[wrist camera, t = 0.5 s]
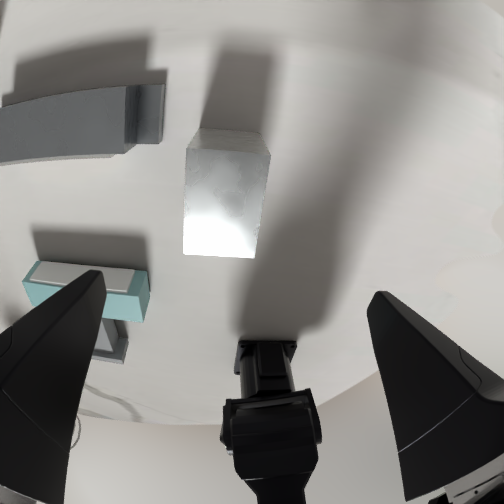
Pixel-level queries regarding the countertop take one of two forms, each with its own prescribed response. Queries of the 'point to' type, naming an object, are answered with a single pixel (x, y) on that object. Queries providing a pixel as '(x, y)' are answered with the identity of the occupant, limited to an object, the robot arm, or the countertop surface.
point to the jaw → (116, 306)
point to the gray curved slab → (81, 124)
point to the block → (224, 192)
